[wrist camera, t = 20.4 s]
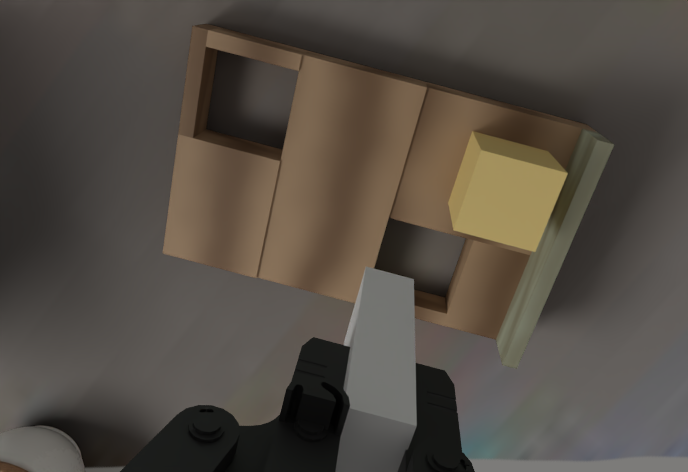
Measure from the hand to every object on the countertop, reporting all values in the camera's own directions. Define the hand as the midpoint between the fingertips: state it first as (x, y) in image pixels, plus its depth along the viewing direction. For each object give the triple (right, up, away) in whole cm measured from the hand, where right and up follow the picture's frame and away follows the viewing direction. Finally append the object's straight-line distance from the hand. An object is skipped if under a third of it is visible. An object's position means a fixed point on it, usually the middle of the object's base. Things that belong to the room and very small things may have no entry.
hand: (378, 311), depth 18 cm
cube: (+9, +6, +20) cm, 23 cm away
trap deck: (+1, +6, +24) cm, 25 cm away
